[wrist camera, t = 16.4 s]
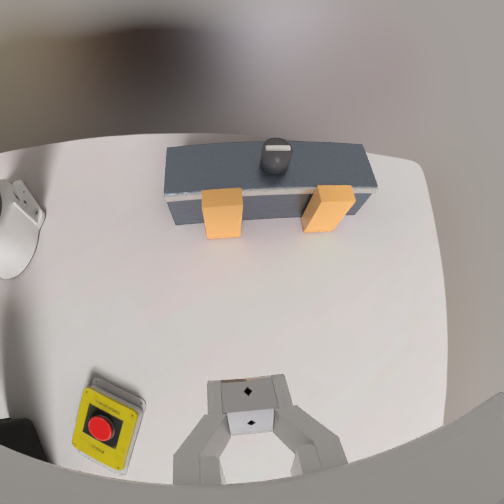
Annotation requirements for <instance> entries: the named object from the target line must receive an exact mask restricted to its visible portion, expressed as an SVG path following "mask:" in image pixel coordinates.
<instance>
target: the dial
mask: <svg viewBox="0 0 504 504" xmlns="http://www.w3.org/2000/svg"><path fill="white" fill-rule="evenodd" d="M292 154H293V148H292V146H291V145H290V143H288V142H287V141H286V140H284V139H281V138H271V139H268V140H266V141H265V142H264V144H263V147H262V153H261V159H260V164H261V166H262V168H263V169H264V170H265V171H267V172H268V173H271V174H281V173H284V172H285V171H286V170H287V169H288V167H289V164H290V161H291V157H292Z"/></svg>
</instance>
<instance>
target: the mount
mask: <svg viewBox="0 0 504 504" xmlns="http://www.w3.org/2000/svg"><path fill="white" fill-rule="evenodd" d="M264 142H265V141H262V142H232V143H214V144H200V145H189V146H178V147H169V148H167V155H166V168H165V183H164V199H165V201H166V202H167V204H168V206H169V209H170V212H171V214H172V217H173V219H174V222H175V224H176V225H183V224H195V223H205V222H204V217H203V211H202V193H201V190H212V189H227V188H241V189H242V198H243V212H242V220H253V219H271V218H289V217H302V216H303V214H304V212H305V210H306V208H307V206H308V204H309V202H310V200H311V198H312V196H313V194H314V191H315V189H316V187H317V185H351V186H352V189H353V193H354V196H355V200H356V202H355V203H354V204H353V206H352V207H351V208H350V209H349V211H348V212H347V213H346V215H355V214H356V212H357V211H358V210H359V209H360V208H361V206H362V205H363V204H364V203H365V201H366V200H367V199H368V198H369V197H370V195H371V194H372V193H375V192H376V191H377V190H378V188H377V187H378V186H377V183H376V180H375V177H374V174H373V171H372V169H371V166H370V163H369V160H368V158H367V155H366V153H365V150H364V148H363V145H362V144H348V143H331V142H301V141H287V142H288V143H290V145H291V146H292V148H293V154H292V157H291V161H290V164H289V167H288V169H287V170H286V171H285V172H284V173H281V174H271V173H268V172H267V171H265V170H264V169H263V168H262V166H261V164H260V159H261V153H262V147H263V144H264Z"/></svg>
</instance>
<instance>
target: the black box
mask: <svg viewBox="0 0 504 504" xmlns="http://www.w3.org/2000/svg"><path fill="white" fill-rule="evenodd" d="M0 445H2V446H5V447H7V448H9V449H11V450H14V451H16V452H19V453H21V454H24V455H27V456H29V457H32V458H35V459H38V460H41V461H44V462H47V460H46V458H45V455H44V453H43V451H42V448H41V446H40V443H39V441H38V438H37V436H36V433H35V430H34V428H33V425H32V422H31V421H30V420H29V419H26V418H25V419H11V418H5V419H0ZM47 463H48V462H47Z"/></svg>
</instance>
